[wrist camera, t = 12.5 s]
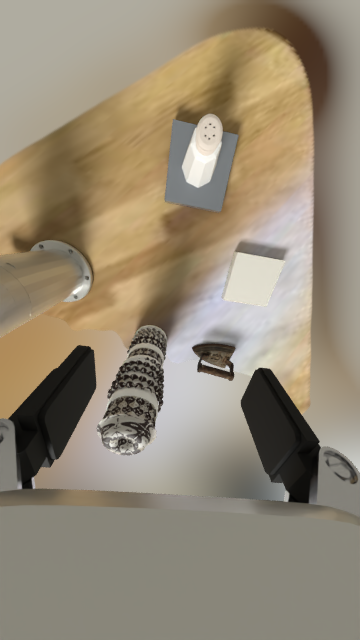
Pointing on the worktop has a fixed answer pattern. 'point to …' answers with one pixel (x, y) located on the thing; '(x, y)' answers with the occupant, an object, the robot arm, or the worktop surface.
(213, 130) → the salt shaker
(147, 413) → the decorative candle
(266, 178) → the worktop surface
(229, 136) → the plate
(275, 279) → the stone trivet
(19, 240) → the worktop surface
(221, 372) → the clothes iron
